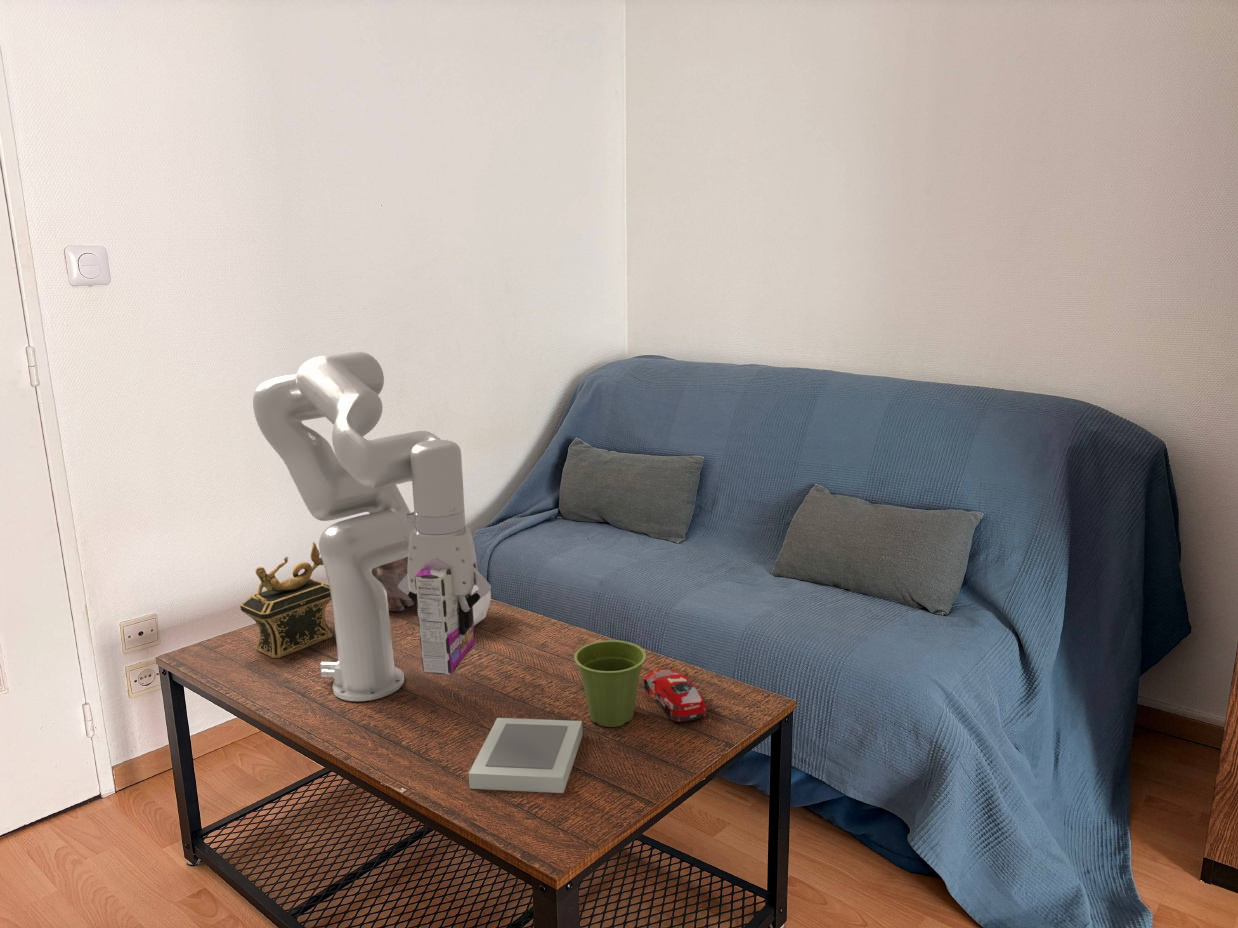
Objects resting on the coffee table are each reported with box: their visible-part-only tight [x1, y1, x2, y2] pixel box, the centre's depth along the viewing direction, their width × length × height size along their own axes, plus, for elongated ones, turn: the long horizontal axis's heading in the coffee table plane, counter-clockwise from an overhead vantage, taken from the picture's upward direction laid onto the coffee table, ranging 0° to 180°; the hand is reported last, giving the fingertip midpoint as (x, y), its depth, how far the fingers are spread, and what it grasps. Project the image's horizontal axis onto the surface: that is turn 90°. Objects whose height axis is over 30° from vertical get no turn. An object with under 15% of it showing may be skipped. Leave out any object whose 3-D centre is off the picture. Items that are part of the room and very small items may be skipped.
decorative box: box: [239, 541, 334, 659], centre depth 185 cm, size 20×10×20 cm, turn 140°
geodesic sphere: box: [472, 585, 492, 626], centre depth 190 cm, size 14×14×14 cm
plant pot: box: [573, 639, 647, 728], centre depth 151 cm, size 12×12×11 cm
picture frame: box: [468, 717, 584, 794], centre depth 140 cm, size 14×16×3 cm
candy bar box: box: [414, 569, 476, 676], centre depth 143 cm, size 11×5×16 cm, turn 168°
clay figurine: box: [371, 557, 415, 612], centre depth 199 cm, size 13×10×25 cm
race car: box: [643, 668, 707, 723], centre depth 156 cm, size 16×7×5 cm, turn 18°
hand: (447, 629), depth 144 cm, fingers closed on candy bar box, 5 cm apart
